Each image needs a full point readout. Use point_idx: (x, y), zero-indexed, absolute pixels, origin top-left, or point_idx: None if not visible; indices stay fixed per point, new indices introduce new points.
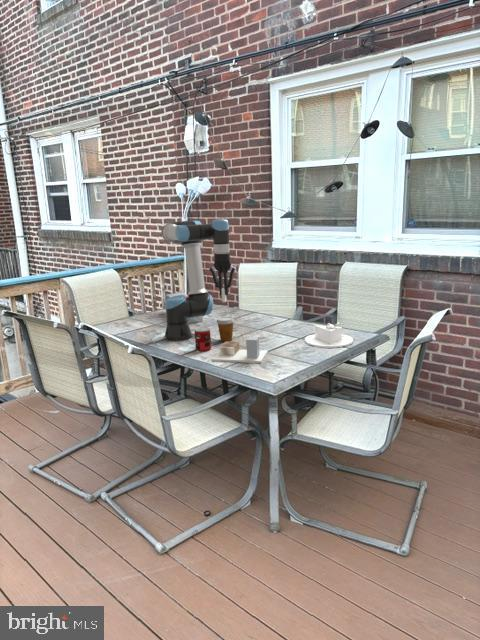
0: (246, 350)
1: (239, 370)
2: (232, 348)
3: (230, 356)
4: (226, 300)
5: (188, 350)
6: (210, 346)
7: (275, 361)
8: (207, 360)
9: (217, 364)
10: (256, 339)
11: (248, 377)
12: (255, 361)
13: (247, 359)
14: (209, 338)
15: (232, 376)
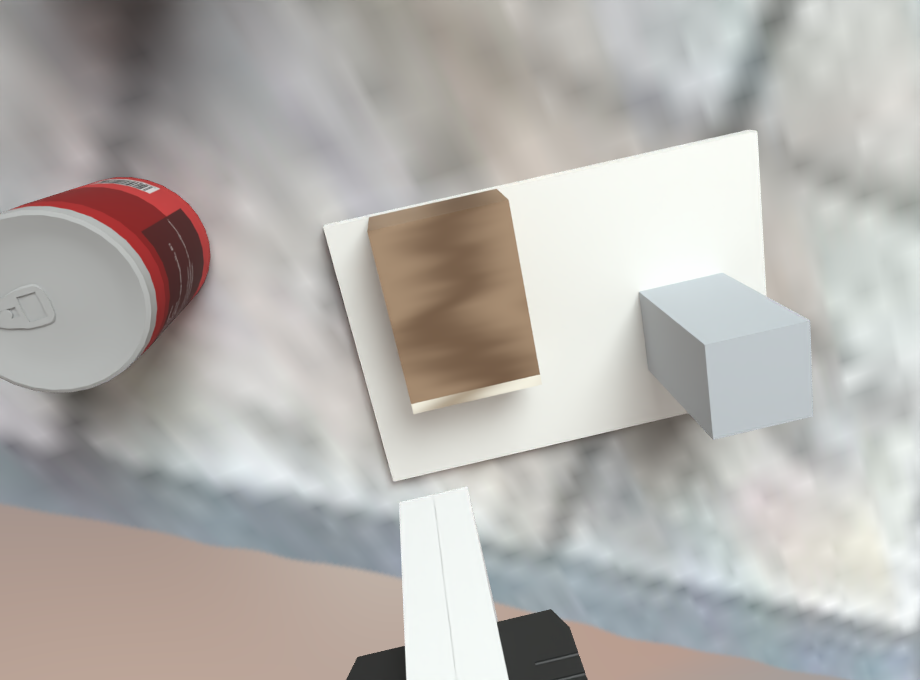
0: (570, 195)
1: (665, 550)
2: (528, 384)
3: None
4: (471, 506)
5: None
6: (203, 241)
7: (856, 316)
8: (354, 473)
9: None
10: (806, 398)
11: (757, 619)
12: None
13: (663, 397)
14: (183, 273)
15: (661, 640)
